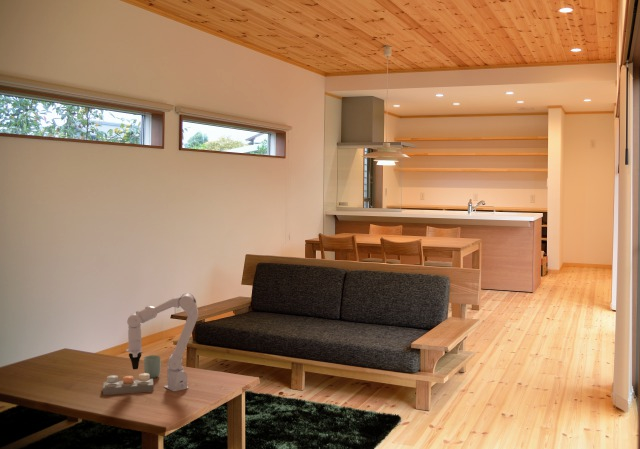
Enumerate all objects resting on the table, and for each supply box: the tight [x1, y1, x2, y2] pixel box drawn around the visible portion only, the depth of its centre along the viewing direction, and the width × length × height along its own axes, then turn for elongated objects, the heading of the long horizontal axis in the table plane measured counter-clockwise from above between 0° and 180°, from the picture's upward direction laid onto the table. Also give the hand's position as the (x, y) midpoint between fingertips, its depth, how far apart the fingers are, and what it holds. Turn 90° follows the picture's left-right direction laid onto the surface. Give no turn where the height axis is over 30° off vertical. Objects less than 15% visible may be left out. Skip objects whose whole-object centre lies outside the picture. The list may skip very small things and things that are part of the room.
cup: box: [143, 354, 162, 379], centre depth 332 cm, size 8×8×10 cm
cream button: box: [138, 372, 151, 381], centre depth 313 cm, size 5×5×2 cm
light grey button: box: [106, 374, 119, 384], centre depth 310 cm, size 5×5×2 cm
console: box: [102, 378, 154, 396], centre depth 312 cm, size 22×10×3 cm, turn 105°
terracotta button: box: [122, 375, 135, 384], centre depth 312 cm, size 5×5×2 cm
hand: (135, 368), depth 313 cm, fingers closed
